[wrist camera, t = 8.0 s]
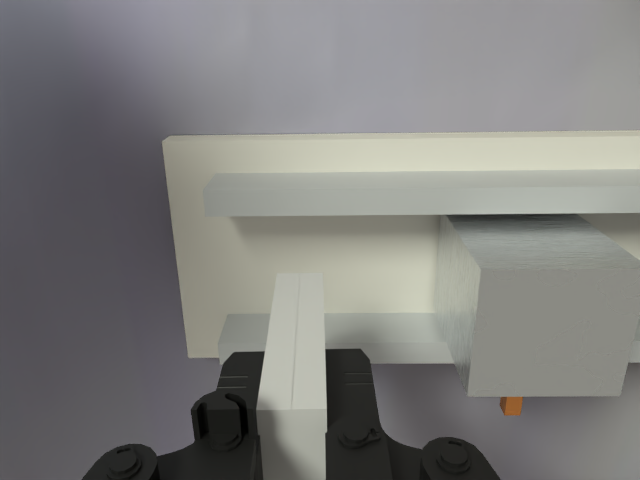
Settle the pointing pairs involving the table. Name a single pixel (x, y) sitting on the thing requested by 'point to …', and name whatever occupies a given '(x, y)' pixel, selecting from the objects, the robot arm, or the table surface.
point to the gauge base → (368, 223)
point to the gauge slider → (535, 305)
